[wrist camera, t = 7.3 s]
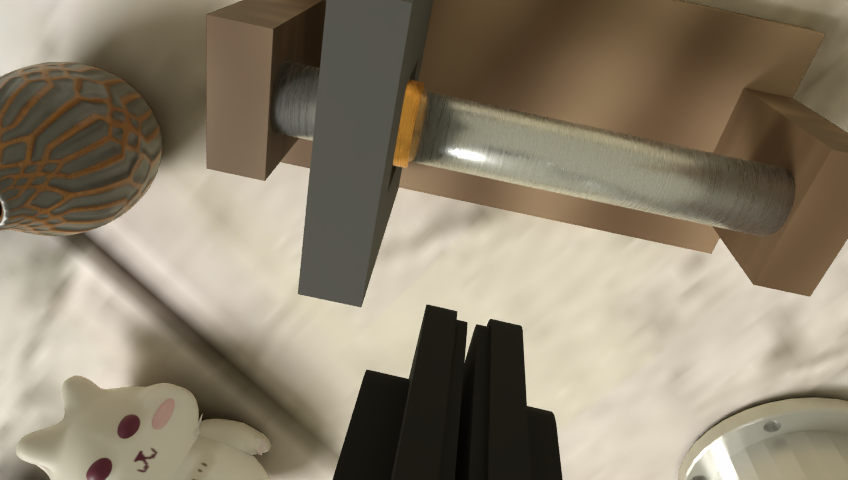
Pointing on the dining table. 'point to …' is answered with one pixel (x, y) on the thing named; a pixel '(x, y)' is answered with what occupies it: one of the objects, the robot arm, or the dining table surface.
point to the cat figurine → (142, 438)
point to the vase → (72, 148)
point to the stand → (576, 106)
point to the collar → (357, 140)
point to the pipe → (563, 157)
